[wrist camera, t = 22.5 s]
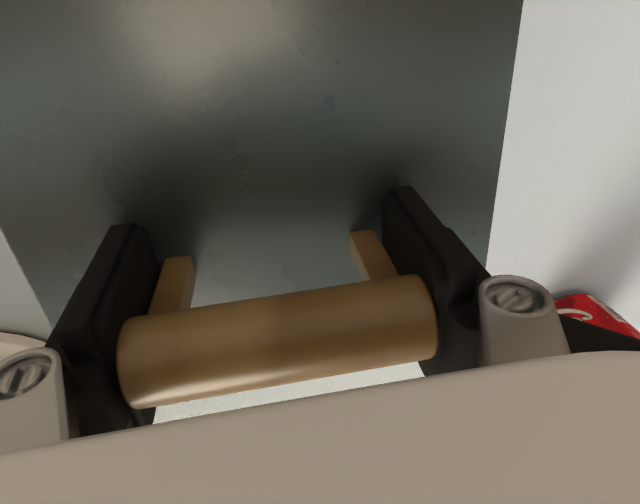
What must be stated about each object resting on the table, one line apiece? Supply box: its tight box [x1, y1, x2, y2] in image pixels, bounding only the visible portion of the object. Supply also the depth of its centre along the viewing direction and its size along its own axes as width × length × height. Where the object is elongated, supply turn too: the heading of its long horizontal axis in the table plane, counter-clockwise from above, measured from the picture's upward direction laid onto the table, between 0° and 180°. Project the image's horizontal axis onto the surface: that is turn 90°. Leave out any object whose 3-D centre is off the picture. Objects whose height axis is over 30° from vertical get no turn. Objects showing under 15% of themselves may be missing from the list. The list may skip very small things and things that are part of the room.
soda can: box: [554, 294, 640, 339], centre depth 32 cm, size 7×7×12 cm
